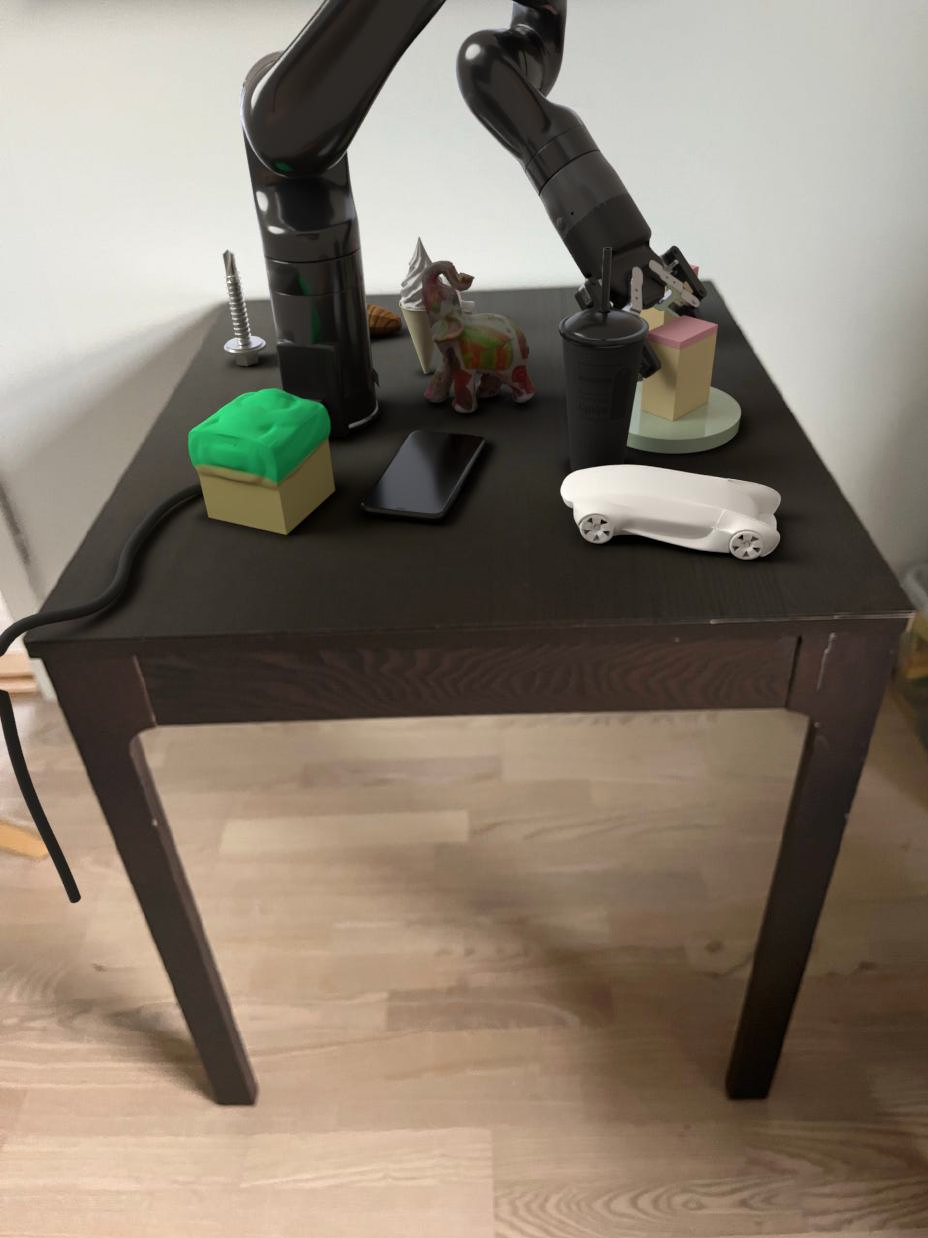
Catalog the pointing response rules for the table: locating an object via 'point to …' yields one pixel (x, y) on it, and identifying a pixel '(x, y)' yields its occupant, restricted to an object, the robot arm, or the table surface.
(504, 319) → the figurine
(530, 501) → the table surface
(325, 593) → the table surface
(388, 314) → the croissant
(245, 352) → the screw
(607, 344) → the drinking cup
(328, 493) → the cake
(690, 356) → the cake slice
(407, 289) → the ice cream cone
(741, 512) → the toy car
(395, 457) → the smartphone
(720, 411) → the plate
